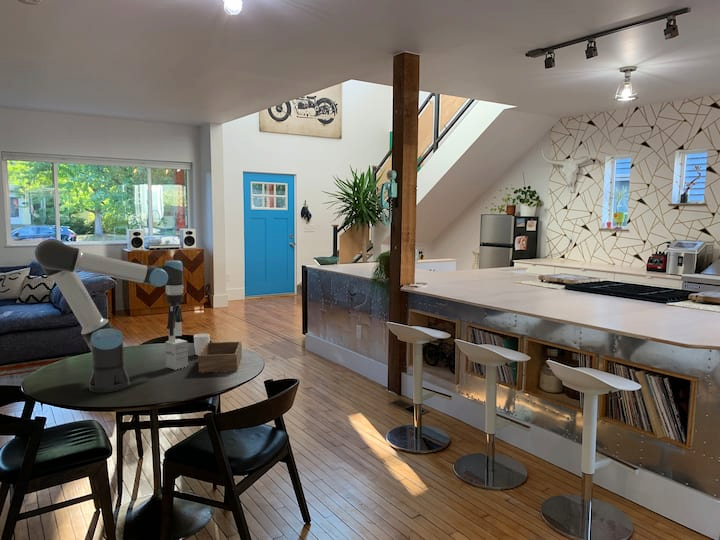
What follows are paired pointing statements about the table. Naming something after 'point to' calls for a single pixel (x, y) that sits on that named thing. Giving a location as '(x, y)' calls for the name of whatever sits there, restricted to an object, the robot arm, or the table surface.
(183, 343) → the supplement box
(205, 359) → the walnut bin
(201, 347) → the white cup
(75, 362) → the table surface
